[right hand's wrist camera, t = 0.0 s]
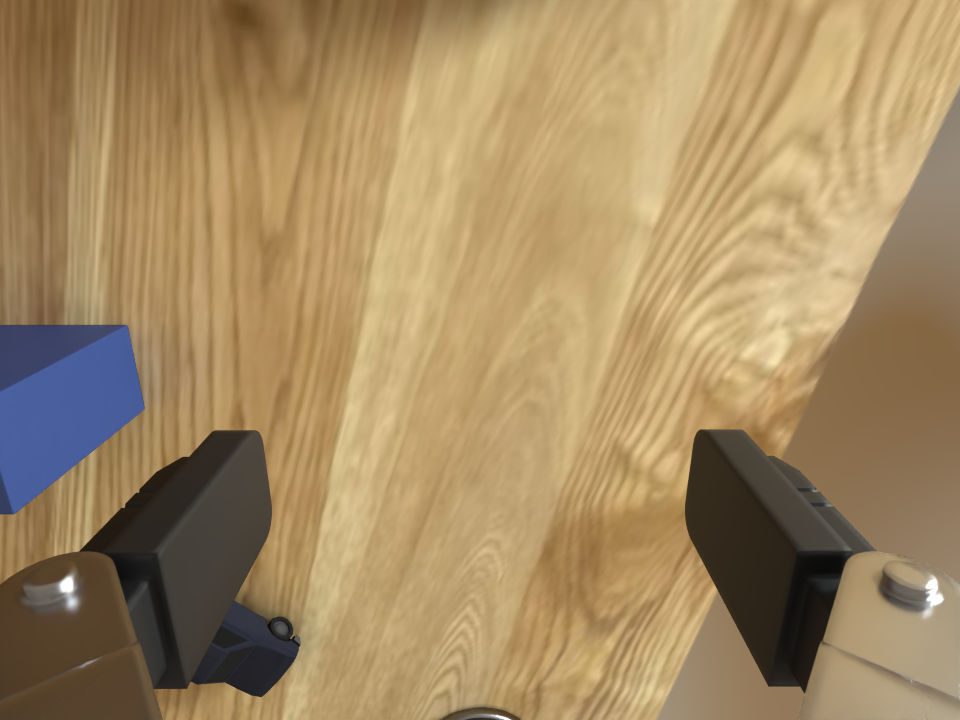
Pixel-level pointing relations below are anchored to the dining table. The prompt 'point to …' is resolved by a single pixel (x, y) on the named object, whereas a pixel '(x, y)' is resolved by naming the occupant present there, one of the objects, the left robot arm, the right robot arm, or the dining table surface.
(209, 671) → the toy car
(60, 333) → the box
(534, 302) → the dining table surface
